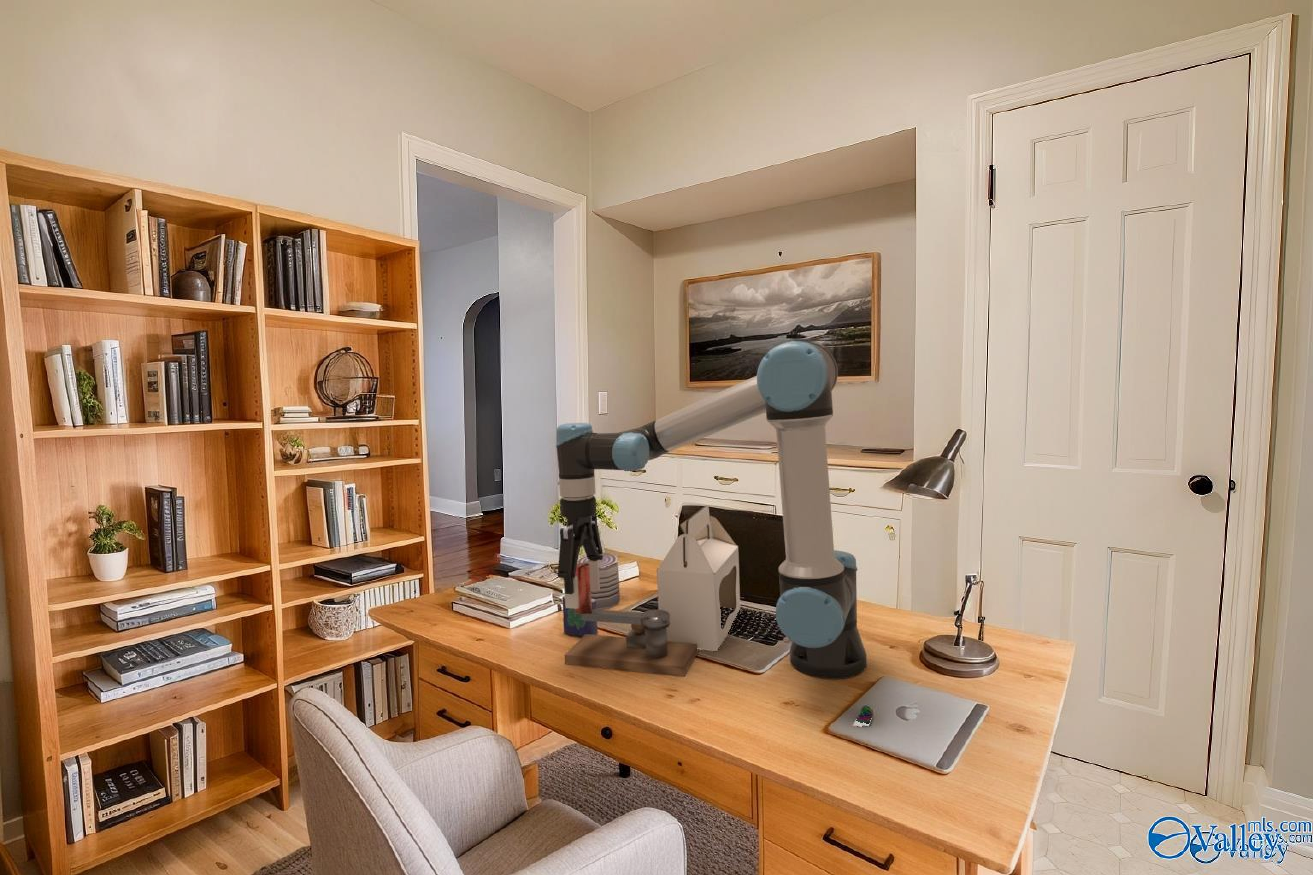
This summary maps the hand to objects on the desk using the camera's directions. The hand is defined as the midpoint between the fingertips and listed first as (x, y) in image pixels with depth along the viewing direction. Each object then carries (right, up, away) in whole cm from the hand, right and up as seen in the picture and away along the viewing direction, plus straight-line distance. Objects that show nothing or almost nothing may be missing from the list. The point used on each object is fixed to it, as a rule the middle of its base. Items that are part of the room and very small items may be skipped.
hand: (583, 598), depth 140 cm
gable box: (+26, -11, +13) cm, 31 cm away
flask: (-2, -12, +13) cm, 18 cm away
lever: (+8, -4, -2) cm, 10 cm away
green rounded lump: (+51, -15, -29) cm, 60 cm away
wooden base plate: (+10, -13, -1) cm, 16 cm away
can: (0, -10, +34) cm, 35 cm away
